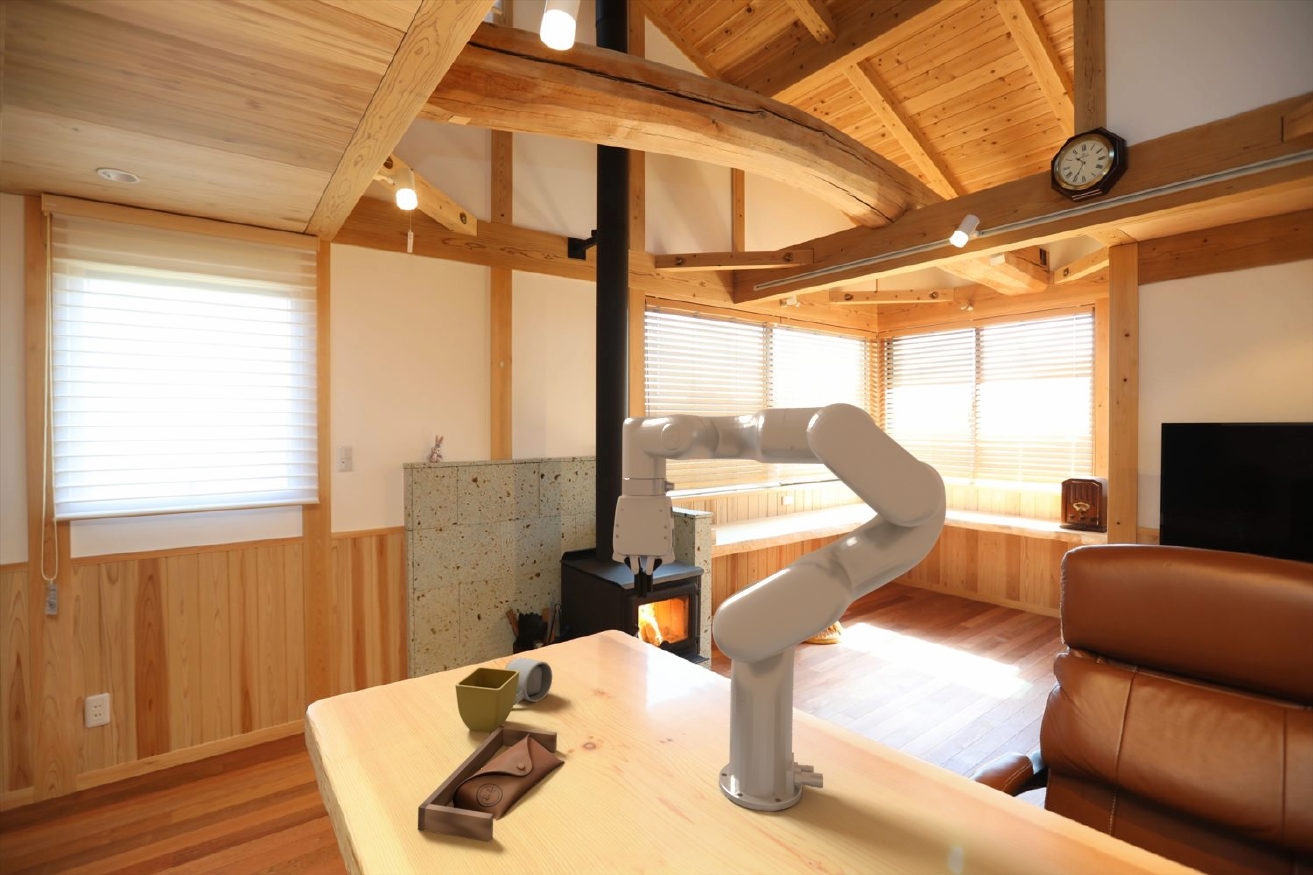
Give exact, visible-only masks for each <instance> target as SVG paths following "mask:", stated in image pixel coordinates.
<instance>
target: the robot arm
mask: <svg viewBox="0 0 1313 875" xmlns="http://www.w3.org/2000/svg"><path fill="white" fill-rule="evenodd" d="M621 455H622V460H621V461H622V462H621V463H622V467H621V469H622V470H621V471H622V472H621V473H622V476H621V477H622V478H621V479H622V480H621V481H622V482H621V485H622V486H621V492H622V493H621V495H620V496H618V498H617V503H616V507H615V508H616V509H615V515H614V525H613V534H612V535H613V537H612V546H613V554H612V557H611V558H612V560H613V561H616V562H619V563H622V564H623V563H624V565H626V566H627V567H628V568H629V569H630V571H631V573H632V574H633V579H634V580H633V591H634V592H635V593H636V598H637V599H641V598H643V599H645V600H646V599H648V597H649V596H650V594H651V593H653V590H654V586H653V585H654V572H655V571H656V570H657V569H658V568H659V567H660V566H662V565H668V564H673V563H674V561H675V560H676V557H675V553H674V550H675V541H676V540H675V536H676V535H675V519H674V518H675V517H674V511H673V510H674V509H673V502H672V498H671V496H667V493H668V492H670V491H675V482H671V481H669V480H668V478H667V460H673V461H689V460H751V461H756V462H759V463H761V464H776V465H777V464H783V465H785V464H787V465H789V464H793V465H794V464H799V465H800V464H803V465H804V464H805V465H806V464H807V465H810V464H811V465H813V464H814V465H815V464H816V465H824V466H825V467H826V468H827V469H828V470H829V471H830V472H831V473H832V474H833V475H834V476H835V477H836V478H837V479H838V480H839V481H841V482H842V483H843V484H844V485H845V486H846V487H848V488H849V489H850V490H851V491H852V493H854V494H855V495H856V496H857V497H859V498H860V500H862V501H863V502H864V503H865V504H866V505H867V506H868V507H869V508H871V509H872V510H873V511H874V512H875V513H876V515H875V516H873V518H871V519H870V520H869V521H867V522H865V523H863V524H861V525H860V526H858V527H856V528H855V529H853V530H852V531H850V532H848V533H847V534H845V535H843V536H842V537H839V538H838V539H836V540H834V541H832V542H830V543H829V544H826V545H824V546H822V547H820V548H818V549H816V550H813V551H810V552H807V553H805V554H803V555H801V556H800V557H798V558H796V559H795V560H793V561H792V562H791V563H789V564H788V565H786V566H784V567H783V568H781V569H779V570H778V571H777V570H776V571H775V572H774V573H772V574H770V575H768V576H767V577H765V578H763V579H759V580H754V581H752V582H749V583H748V584H746V585H744V586H743V587H741V588H740V589H738V590H737V591H736V592H735V593H733V594H732V595H730V596H729V597H727V598H726V599H725V600H724V601H723V602H721V603H720V605H718V607H717V609H716V611H715V613H714V616H713V619H712V627H711V629H712V630H711V631H712V636H713V640H714V643H715V645H716V647H717V648H718V650H719V651H720V652H721V653H722V654H723V655H724V656H725V657H727V658H728V659H730V660H731V666H730V667H731V668H730V669H731V670H730V699H729V700H730V702H729V704H730V705H729V706H730V711H729V762H728V763H727V764H726V765H724V766H723V767H722V769H721V770H720V772H719V775H718V784H719V785H718V786H719V789H720V790H721V792H722V793H723V794H724V795H725V796H726V798H728V799H729V800H730V801H732V802H734V804H737V805H739V806H742V807H744V808H747V809H750V810H756V811H761V810H762V811H764V812H774V811H775V812H776V811H779V810H780V811H782V810H785V809H788V808H790V807H792V806H794V805H796V803H798V802H799V801H800V799H801V798H802V793H803V789H802V788H803V786H808V787H812V788H817V789H823V788H824V775H823V773H819V772H815V771H814V770H815V769H814V765H811V764H810V765H808V764H805V765H804V764H799V762H797V761H795V757H794V756H795V755H794V754H795V753H794V752H793V721H794V720H793V717H794V716H793V714H794V711H793V710H794V709H793V707H794V702H793V701H794V677H795V676H794V672H795V671H794V668H795V653H796V646H797V645H799V644H801V643H803V642H805V641H807V640H809V639H811V638H813V637H815V636H816V635H820V634H821V633H823V632H824V631H826V630H828V629H829V628H830V627H832V626H833V625H835V624H836V623H837V622H838V621H839V620H840V619H841V618H842V617H843V615H844V614H845V612H846V611H847V609H848V608H849V607H850V605H852V604H853V603H854V602H855V601H858V599H860V598H862V597H864V596H866V595H868V594H869V593H871V592H873V591H875V590H877V589H879V588H881V587H882V586H884V585H886V584H888V583H889V582H891V581H894V580H896V578H899V577H901V576H903V574H905V573H907V572H909V571H910V570H912V569H913V568H914V567H916V566H917V565H919V563H921V562H922V561H923V560H924V559H925V558H926V557H927V556H928V554H930V552H931V551H932V549H933V548H934V547H935V545H936V543H937V541H938V540H939V538H940V536H941V533H942V531H943V528H944V526H945V521H946V516H947V514H946V513H947V495H946V487H945V482H944V480H943V478H942V476H941V475H940V473H939V471H937V469H936V468H935V467H933V466H932V465H930V464H929V463H927V462H925V461H921V460H919V459H917V457H915V456H913V454H911V453H910V452H909V451H908V450H906V449H905V448H904V447H903V446H902V445H901V444H899V442H897V441H896V440H894V439H893V438H892V437H891V436H890V435H888V434H887V433H886V431H884V430H883V429H882V428H880V427H879V426H878V425H877V424H876V421H875V420H874V418H873V417H872V415H871V414H870V413H868V412H867V410H865V409H863V408H861V407H858V406H855V405H853V404H850V403H846V402H845V403H843V402H841V403H840V402H838V403H831V404H828V405H825V406H815V407H785V408H783V407H782V408H775V407H773V408H765V409H761V410H759V411H757V412H755V413H752V414H744V415H729V416H727V415H726V416H723V415H722V416H700V415H692V414H684V413H674V414H669V415H664V416H663V415H662V416H639V415H638V416H631V417H630V416H629V417H627V418H626V419H625V420H624V421H623V423H622V454H621ZM641 557H647V560H646V566H645V569H644V568H643V567H642V566H643V565H642V559H641ZM781 809H782V810H781Z"/></svg>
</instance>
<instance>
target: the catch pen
mask: <svg viewBox="0 0 1313 875" xmlns="http://www.w3.org/2000/svg"><path fill="white" fill-rule="evenodd" d="M528 734H530V737H531V738H533V739H534V740H535V741H536V742H538V743H539V744H540V745H541V746H543V747H544V748H545V749H546V750H548V751H549V752H550V753H551V754H553V753H554V754H555V753H556V751H557V749H558V748H557V747H558V746H557V743H558V740H557V738H558V737H557V736H558V731H557V732H555V731H549V730H542V729H541V730H540V729H535V728H534V729H533V728H527V727H525V728H524V727H518V726H517V727H516V726H508V725H503V724H502V725H500V726H499V727H498V728H497V729H496V730H495V731H494V732H491V734H490V735H489V736H488V737H487V738H486V739H485V740H484V741H483V742H482V743H481V744H480V745H479V746H478V747H477V748H476V749H475V750H474V751H473V752H472V753H471V754H470V755H469V756H468V757H467V758H466V759H465V760H464V761H463V762H462V763H460V765H459V766H458V767H457V768H456V769H455V770H454V771H453V772H452V773H450V775H449V776H448V777H447V778H446V779H445V780H444V781H443V782H442V783H441V784H440V785H439V786H438V787H437V788H436V789H435V790H434V791H433V792H432V793H431V794H430V795H429V796H428V797H427V798H426V799H425V800H424V801H423V802H422V803H421V804H420V805H419V806H418V807H417V810H418V812H417V816H418V817H417V830H419V831H425V832H429V833H436V834H442V835H449V836H453V837H459V838H465V839H466V838H467V839H471V840H477V841H484V842H490V841H491V839H493V836H494V819H493V814H489V813H483V812H477V811H470V810H464V809H458V808H454V807H451V806H449V804H450V803H452V797H453V793H454V791H455V789H456V788H457V787H458V786H459V785H460V784H461V783H462V782H463V781H465V780H466V779H468V778H470V777H472V776H473V775H474V774H475V773H477V772H478V771H479V770H480V769H481V768H482V767H483V766H484V765H485V766H486V765H487V764H488V763H489V762H490V760H491V759H492V758H494V756H495V755H496V754H495V753H496V752H497V753H498V752H499V751H500V750H501V749H502V747H507V748H511V747H512V746H514V745H515V744H517V743H518V742H520V741H521V740H523V739H524V738H525V737H526V736H527V735H528Z"/></svg>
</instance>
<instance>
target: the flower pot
mask: <svg viewBox="0 0 1313 875" xmlns="http://www.w3.org/2000/svg"><path fill="white" fill-rule="evenodd" d="M518 680H519V671H515V670H506V669H505V668H493V667H485V666H478V667H476V668H475V669H473V671H472V672H470V673H469V674H468V675H467V676H465V677H464V678H462V679H461V680H460V681H458V682H457V683H456V684H455V686H454V687H455V694H456V702H457V708H458V713H459V716H460V718H461V720H462V722H463V724H464V726H466V728H467V729H468V730H469V731H477V732H484V733H493V732H494V731H495V730H496V729H497V728H498V727H499V726H500V725H503V724H504V723H505V722H506V721H507V719H508V717H509V715H510V713H511V712H512V710H513V707H514V706H515V705H514V702H515V699H516V694H517V687H518Z"/></svg>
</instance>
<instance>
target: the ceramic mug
mask: <svg viewBox="0 0 1313 875" xmlns="http://www.w3.org/2000/svg"><path fill="white" fill-rule="evenodd" d="M509 661H510V662H508V663H507V664H506V665H505V668H504V669H506V670H515V671H519V680H518V687H517V694H516V699H515V702H514V705H513V706H515V705H518V703H520V702H521V701H523V700H526V701H528V702H532V703H537V702H540V701H542V700H543V699H544V698H546V696H547V695H548V693H549V692H550V690H551V688H552V682H553V672H552V668H551V666H550V664H549V663H548V662H546V661H542V660H536V659H532V658H526V657H515V658H513V659H511V660H509Z"/></svg>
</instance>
